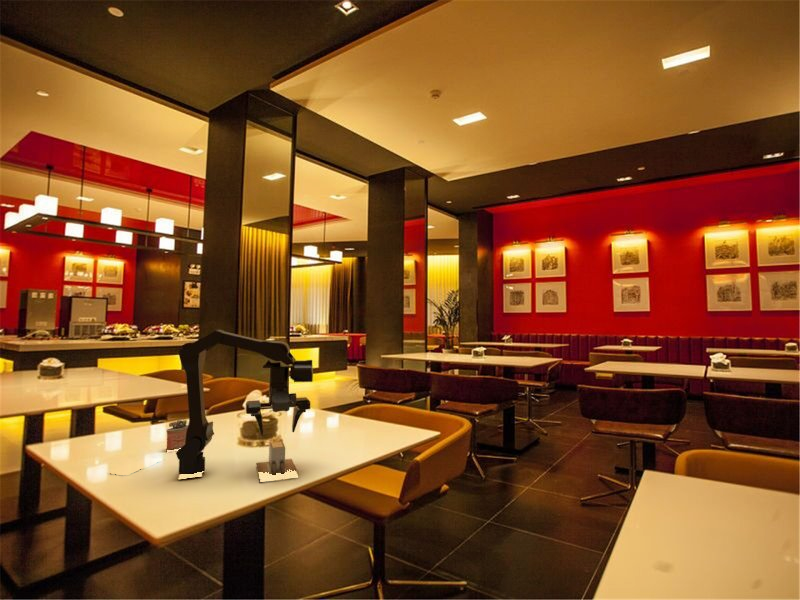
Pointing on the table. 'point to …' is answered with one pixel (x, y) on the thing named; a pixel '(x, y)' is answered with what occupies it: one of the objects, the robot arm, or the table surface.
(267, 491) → the table surface
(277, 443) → the block
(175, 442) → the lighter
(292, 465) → the pin tray
